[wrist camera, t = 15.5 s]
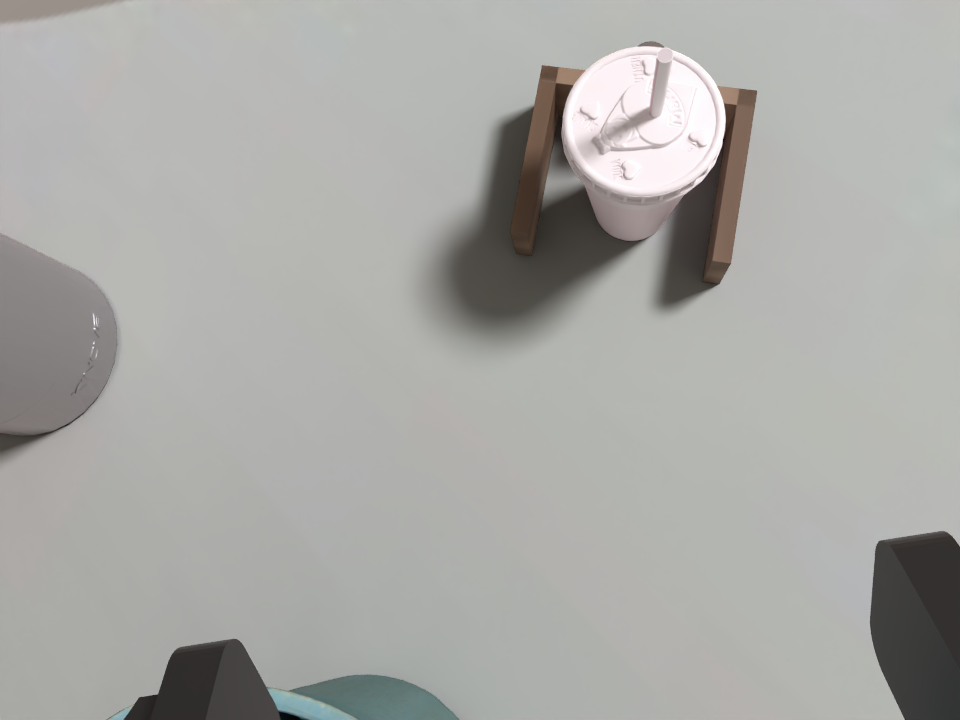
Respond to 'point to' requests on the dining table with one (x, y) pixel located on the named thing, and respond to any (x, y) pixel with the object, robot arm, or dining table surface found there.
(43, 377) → the robot arm
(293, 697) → the flower pot
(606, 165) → the smoothie
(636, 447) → the dining table surface
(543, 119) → the keeper
